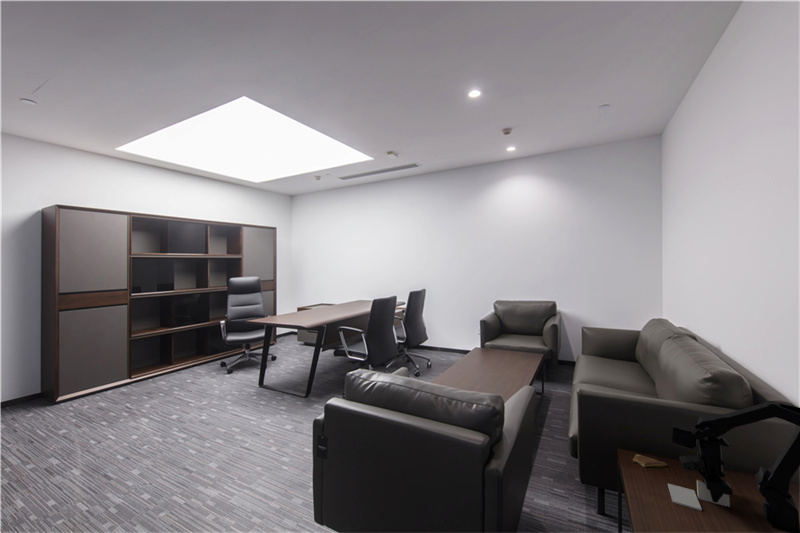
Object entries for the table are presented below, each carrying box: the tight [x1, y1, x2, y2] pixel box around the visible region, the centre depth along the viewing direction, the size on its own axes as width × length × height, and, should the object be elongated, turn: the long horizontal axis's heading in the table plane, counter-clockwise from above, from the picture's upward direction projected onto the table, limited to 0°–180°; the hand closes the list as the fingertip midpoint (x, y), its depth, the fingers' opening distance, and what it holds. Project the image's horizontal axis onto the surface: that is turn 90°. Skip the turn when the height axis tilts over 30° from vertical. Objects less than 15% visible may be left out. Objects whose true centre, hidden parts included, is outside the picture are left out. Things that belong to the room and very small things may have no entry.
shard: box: [632, 454, 668, 468], centre depth 134 cm, size 11×8×2 cm
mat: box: [667, 483, 703, 512], centre depth 114 cm, size 8×11×1 cm
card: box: [696, 479, 731, 508], centre depth 112 cm, size 8×2×6 cm, turn 57°
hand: (713, 498), depth 112 cm, fingers open, 4 cm apart
